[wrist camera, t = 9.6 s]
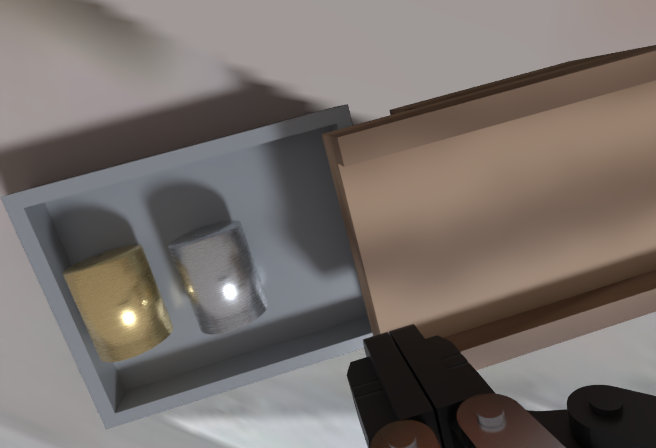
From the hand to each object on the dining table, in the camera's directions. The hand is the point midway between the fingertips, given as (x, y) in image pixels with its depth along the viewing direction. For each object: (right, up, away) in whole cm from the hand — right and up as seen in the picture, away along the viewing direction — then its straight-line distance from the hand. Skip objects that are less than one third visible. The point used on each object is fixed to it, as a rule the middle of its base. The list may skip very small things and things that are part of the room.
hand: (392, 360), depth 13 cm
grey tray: (-8, +2, +15) cm, 17 cm away
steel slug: (-9, 0, +11) cm, 14 cm away
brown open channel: (+7, +6, +16) cm, 19 cm away
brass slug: (-14, -1, +11) cm, 18 cm away
